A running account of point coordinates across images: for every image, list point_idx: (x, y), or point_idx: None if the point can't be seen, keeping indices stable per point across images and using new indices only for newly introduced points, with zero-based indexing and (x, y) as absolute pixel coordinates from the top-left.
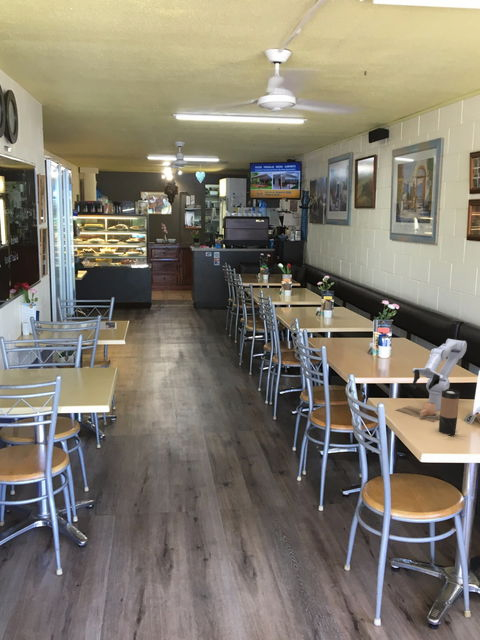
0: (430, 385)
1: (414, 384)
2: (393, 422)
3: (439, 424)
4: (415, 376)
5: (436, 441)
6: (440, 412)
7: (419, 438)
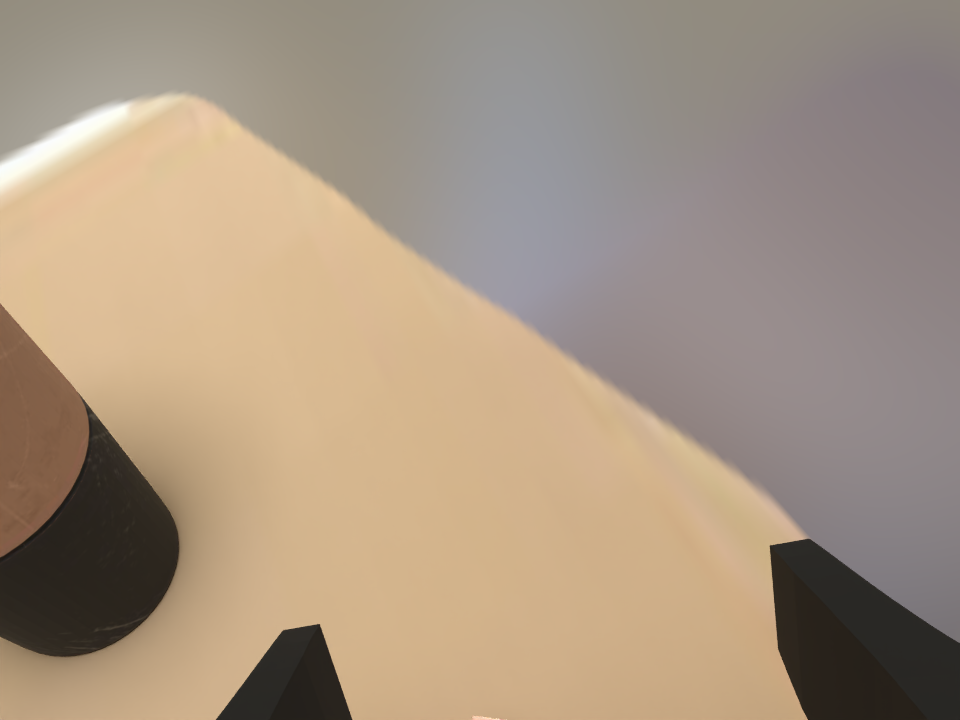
0: (264, 659)
1: (776, 622)
2: (701, 456)
3: (131, 461)
4: (933, 662)
5: (145, 310)
6: (56, 367)
7: (292, 272)
